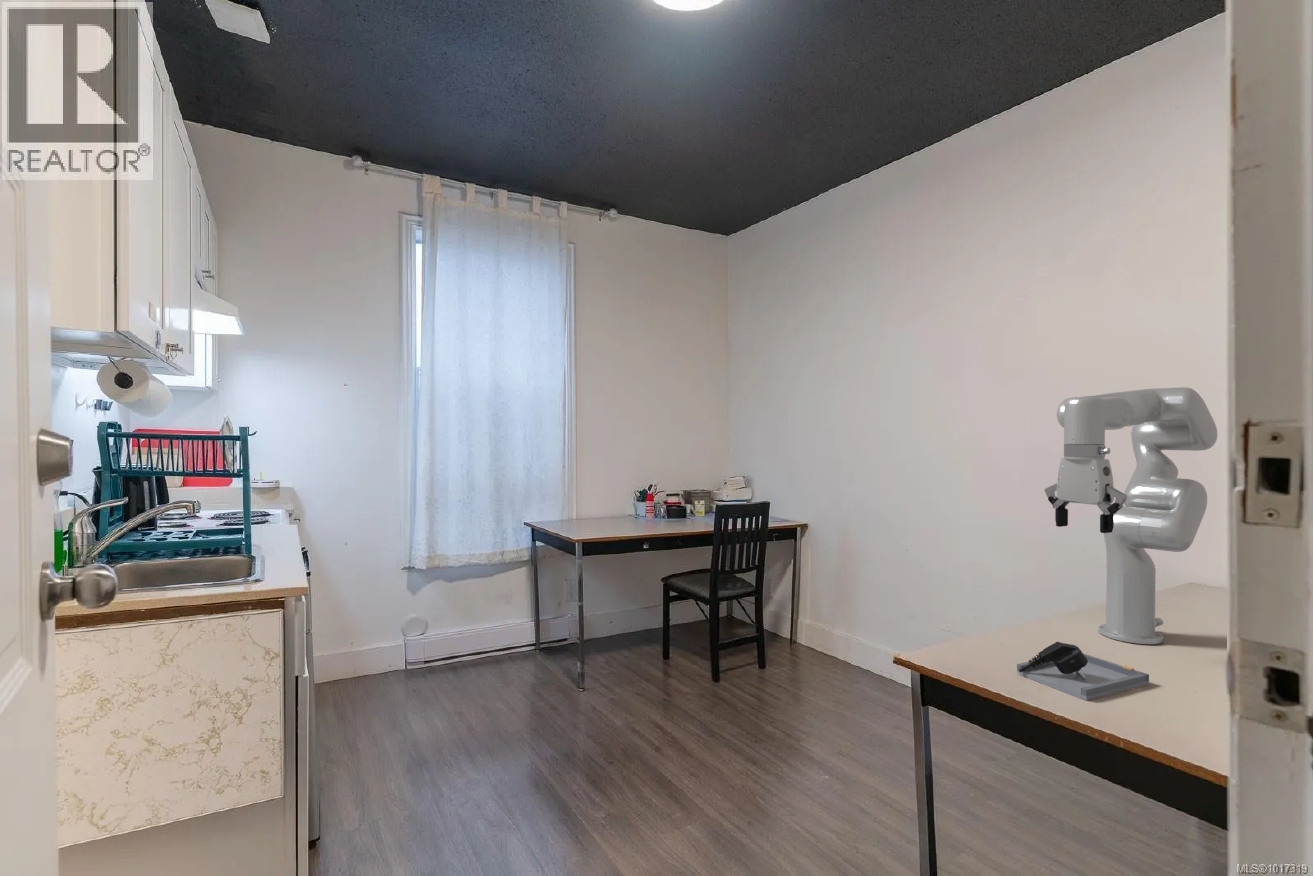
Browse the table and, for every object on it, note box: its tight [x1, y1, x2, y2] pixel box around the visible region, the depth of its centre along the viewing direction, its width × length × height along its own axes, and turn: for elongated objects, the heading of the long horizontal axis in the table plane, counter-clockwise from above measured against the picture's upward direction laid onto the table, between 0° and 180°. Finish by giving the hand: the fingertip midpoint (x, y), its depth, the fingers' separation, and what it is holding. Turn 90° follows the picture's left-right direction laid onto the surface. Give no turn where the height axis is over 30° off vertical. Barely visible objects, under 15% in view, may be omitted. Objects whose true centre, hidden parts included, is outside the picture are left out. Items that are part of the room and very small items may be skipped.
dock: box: [1016, 652, 1150, 702], centre depth 126 cm, size 19×14×2 cm
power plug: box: [1018, 641, 1088, 680], centre depth 126 cm, size 6×8×12 cm
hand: (1083, 529), depth 139 cm, fingers open, 9 cm apart
